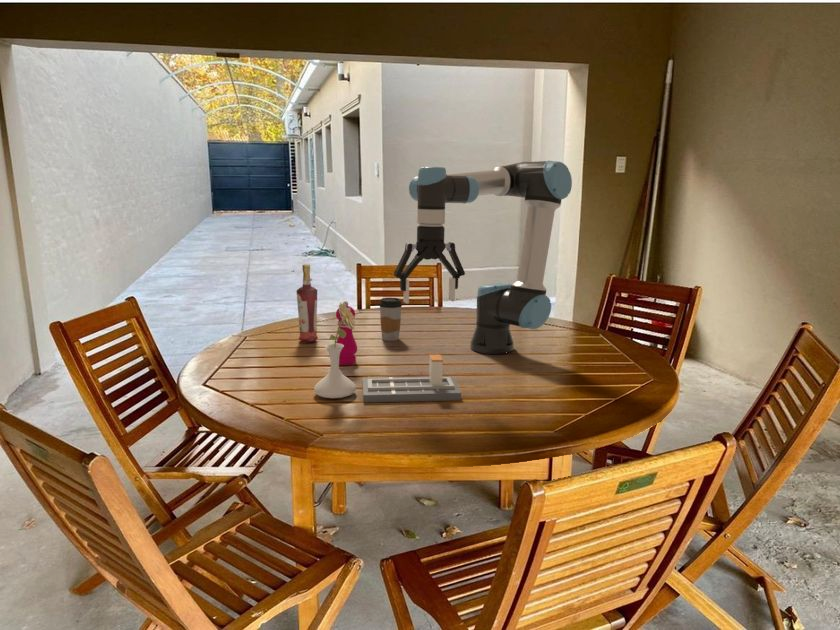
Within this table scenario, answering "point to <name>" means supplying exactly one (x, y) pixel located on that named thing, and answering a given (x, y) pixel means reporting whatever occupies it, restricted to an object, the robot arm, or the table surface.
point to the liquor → (307, 308)
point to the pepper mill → (346, 341)
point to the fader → (435, 369)
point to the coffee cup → (390, 318)
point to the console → (409, 389)
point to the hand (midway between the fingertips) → (429, 301)
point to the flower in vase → (337, 363)
